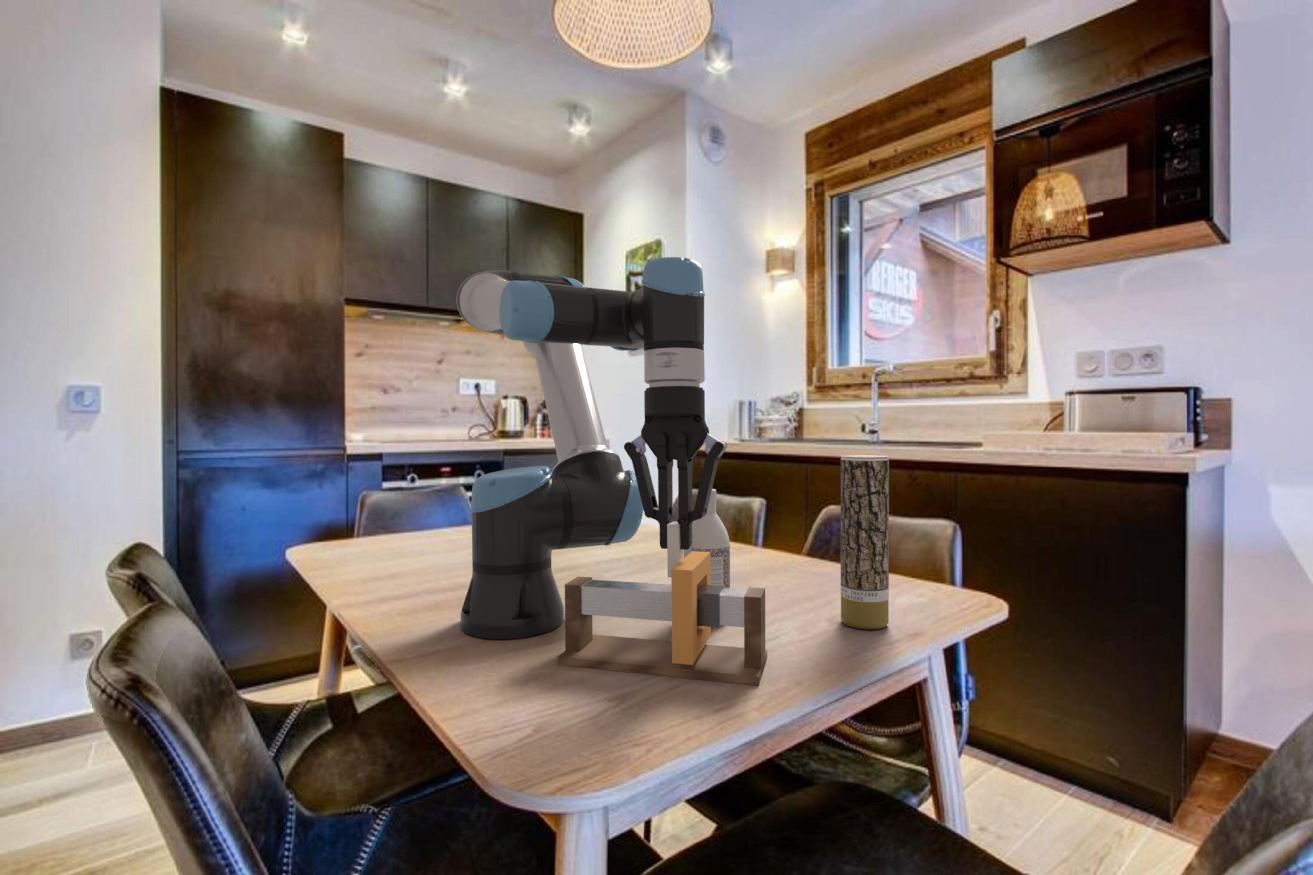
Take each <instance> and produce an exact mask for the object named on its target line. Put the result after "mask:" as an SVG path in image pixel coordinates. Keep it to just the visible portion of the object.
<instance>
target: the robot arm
mask: <svg viewBox="0 0 1313 875" xmlns="http://www.w3.org/2000/svg"><path fill="white" fill-rule="evenodd" d="M642 272H643V274H642V280H641V284H642V287H641V288H638V289H636V290H634V291H633V290H632V291H628V290H617V289H608V288H607V289H606V288H597V287H596V288H595V287H587V286H585V285H584V284H583V283H582V282H581V281H579V280H577V279H576V278H571V277H566V276H563V275H558V274H557V275H547V274H546V275H545V274H538V273H529V272H520V271H511V270H506V269H504V270H503V269H493V270H485V271H479V272H477V273H474V274H472V275H470V276H468V277H467V278H466V279H464V281H462V283H461V284H460V286H459V288H458V289H457V293H456V298H455V299H456V300H455V301H456V303H455V304H456V308H457V310H458V312H459V315H460V316H461V318H462V319H463V320H464V322H465V323H466V324H468V325H469V326H471V327H473V328H475V329H477V330H479V331H483V332H487V333H491V334H495V335H503V336H505V337H506V338H507V339H508V340H511V341H520V342H523V345H524V347H525V349H526V351H528V352H529V353H530V354H532V355H534V357H535V361H536V365H537V371H538V375H539V379H540V384H541V388H542V392H543V397H544V398H543V399H544V402H545V403H544V404H545V406H546V407H545V408H546V412H547V416H548V420H549V421H548V422H549V425H550V430H551V435H552V439H553V444H554V448H555V452H556V457H557V462H556V464H555V465H554V467H552V471H551V468H550V467H549V466H547V465H532V466H531V465H530V466H525V467H524V466H522V467H521V466H520V467H514V468H507V469H502V470H497V471H493V472H489V473H485V474H484V475H483V474H482V475H481V476H479V477H478V478H476V479H475V481H474V482H473V484H472V490H471V502H470V508H469V511H470V512H471V554H472V556H471V558H472V561H471V562H472V568H471V569H472V572H471V573H472V574H471V578H470V582H469V586H468V588H467V591H466V595H465V598H464V601H463V603H462V604H463V605H462V608H461V611H460V629H461V631H462V632H463V633H465V634H467V635H469V636H472V637H476V638H480V639H481V638H482V639H491V640H492V639H493V640H507V639H508V640H509V639H521V638H527V637H532V636H538V635H541V634H545V633H549V632H550V631H553V630H555V629H556V628H558V627H560V626H561V625H562V624H563V622H565V610H564V604H563V600H562V597H561V594H560V591H559V589H558V585H557V583H556V580H555V577H554V574H553V570H552V553H553V552H552V551H555V550H556V551H557V550H565V549H568V550H569V549H576V548H586V547H587V548H588V547H597V546H605V547H606V546H610V545H612V544H619V543H624V542H628V541H629V540H631V539H632V538H634V536H635V535H636V533H637V532H638V531H639V528H640V526H641V523H642V519H643V514H644V516H645V517H646V518H648V519H653V520H655V521H657V522H658V524H659V526H658V527H659V547H660V549H664V550H665V549H666V550H667V558H666V559H667V578H671V569H672V568H674V567H675V566H676V565H677V564H678V563H679V562H680V561H682V560H683V559H684V550H688V549H689V548H691V545H692V522H693V521H695V520H698V519H701V518H702V517H704V516H705V515H706V513H707V509H708V504H709V500H710V496H711V491H712V489H713V486H714V482H715V478H716V473H717V469H718V465H719V460H720V458H722V456H723V454H724V453H725V451H726V449H727V447H728V446H727V443H726V442H725V441H720V440H719V439H717V438H716V437H715V436H713V435H711V434H710V430H709V427H708V425H707V423H706V408H705V407H706V400H705V398H706V397H705V396H706V394H705V389H704V388H703V386H701V384H703V383H704V382H705V380H706V376H705V375H706V374H705V373H706V372H705V346H704V345H705V296H706V291H705V290H704V275H703V267H702V265H701V264H700V262H698V261H696V260H695V259H691V258H688V257H680V256H667V257H666V256H665V257H658V258H655V259H651V260H649V261H647V262H646V263H645V265H644V267H643V271H642ZM582 346H595V347H596V346H598V347H599V346H600V347H610V348H611V349H614V350H616V351H620V352H622V351H623V352H625V351H638V350H640V349H643V366H644V367H643V368H644V369H643V370H644V374H643V375H644V380H643V381H644V383H645V384H647V385H649V386H648V387H646V388H645V390H644V391H643V393H644V400H643V401H644V402H643V404H644V405H643V406H644V410H643V411H644V424H643V426H642V427H641V430H640V435H639V436H637V437H636V438H635V439H633V440H632V441H627V442H625V443H624V445H623V449H624V451H625V452H626V454H627V455H628V457H629V458H630V460H631V464H632V469H633V471H632V470H631V469H628V470H624V468H623V465H622V461H621V457H620V455H619V454H618V453H617V452H615V451H613V450H611V449H609V447H608V444H607V439H606V435H605V431H604V427H603V424H602V420H601V417H600V413H599V412H600V411H599V409H598V406H597V402H596V401H597V400H596V398H595V394H594V393H595V392H594V390H593V386H592V382H591V378H590V375H589V371H588V370H589V369H588V366H587V363H586V360H585V356H584V355H585V354H584V351H583V348H582ZM704 443H705V447H704V452H705V453H706V457H705V460H704V463H703V464H704V465H703V468H702V471H701V472H702V473H701V476H700V481H699V486H698V489H697V490H698V493H697V492H696V499H695V503H694V507H693V466H694V457H696V455H697V454H698V452H699V450H701V448H702V446H703V445H704ZM646 445H647V446H648V448H649V449H650V451H651V452H652V454H653V456H654V457H655V458H656V468H657V492H658V493H657V496H656V492H655V487H654V484H653V479H652V476H651V471H650V467H649V463H648V458H647V457H646V454H645V453H646V452H647V447H646ZM674 460H675V461H676V467H677V480H678V481H677V487H678V488H677V491H678V495H677V496H678V497H677V498H678V503H677V504H678V519H677V520H675V521H672V520H674V517H675V515H674V514H673V508H674V507H673V506H674V505H673V504H674V502H673V501H674V500H673V499H674V498H673V496H674V495H673V493H674V492H673V468H674ZM657 497H658V500H657Z"/></svg>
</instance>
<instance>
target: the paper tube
mask: <svg viewBox="0 0 1313 875" xmlns="http://www.w3.org/2000/svg"><path fill="white" fill-rule="evenodd" d="M889 466H890V460H889V455H878V454H877V455H873V454H871V455H870V454H858V455H857V454H856V455H855V454H852V455H850V454H847V455H841V457H840V620H841V621H842V623H843V624H844V625H846V626H849V627H851V628H854V629H860V630H869V631H870V630H881V629H883V628H885V627H886V626H887V625H888V624H889V616H890V615H889V612H890V611H889V604H890V603H889V602H890V601H889V599H890V593H889V592H890V591H889V590H890V582H889V581H890V578H889V577H890V574H889V573H890V571H889V570H890V569H889V568H890V562H889V561H890V560H889V558H890V551H889V550H890V548H889V547H890V543H889V542H890V538H889V537H890V520H889V519H890V518H889V517H890V467H889Z"/></svg>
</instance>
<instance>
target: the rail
mask: <svg viewBox="0 0 1313 875" xmlns="http://www.w3.org/2000/svg"><path fill="white" fill-rule="evenodd" d="M580 590H581V614H585V615H592V616H598V617H610V618H611V617H612V618H613V617H614V618H622V619H623V618H624V619H635V620H636V619H637V620H650V621H663V622H664V621H665V622H672V584H665V583H649V582H637V581H635V582H634V581H633V582H632V581H619V580H602V579H592V580H589V581H588V582H586V583H585V584H583V585H582V586H580ZM747 590H748V589H744V588H731V587H730V588H725V586H715V585H701V586H700V587H699V586H697V626H708V627H711V628H720V627H722V626H725V627H737V628H739V627H740V628H744V596H745V594H746V592H747Z"/></svg>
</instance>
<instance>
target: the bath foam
mask: <svg viewBox="0 0 1313 875" xmlns="http://www.w3.org/2000/svg"><path fill="white" fill-rule="evenodd" d="M697 493H698V489H697V490H696V494H697ZM692 551H698V552H710V556H711V585H715V586H725V588H731V546H730V536H729V533H728V530H727V528H726V527H725V524H724V522H723V521H722V519H721V518H720V517H719V515H718V513H717V489H715V488H712V491H711V496H710V500H709V504H708V509H707V513H706V515H705V516H704V517H702V518H701V519H698V520H695V521H693V522H692V545H691V548H689V549H688V550H684V558H685V557H686V556H687V555H688V554H689V553H691V552H692Z"/></svg>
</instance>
